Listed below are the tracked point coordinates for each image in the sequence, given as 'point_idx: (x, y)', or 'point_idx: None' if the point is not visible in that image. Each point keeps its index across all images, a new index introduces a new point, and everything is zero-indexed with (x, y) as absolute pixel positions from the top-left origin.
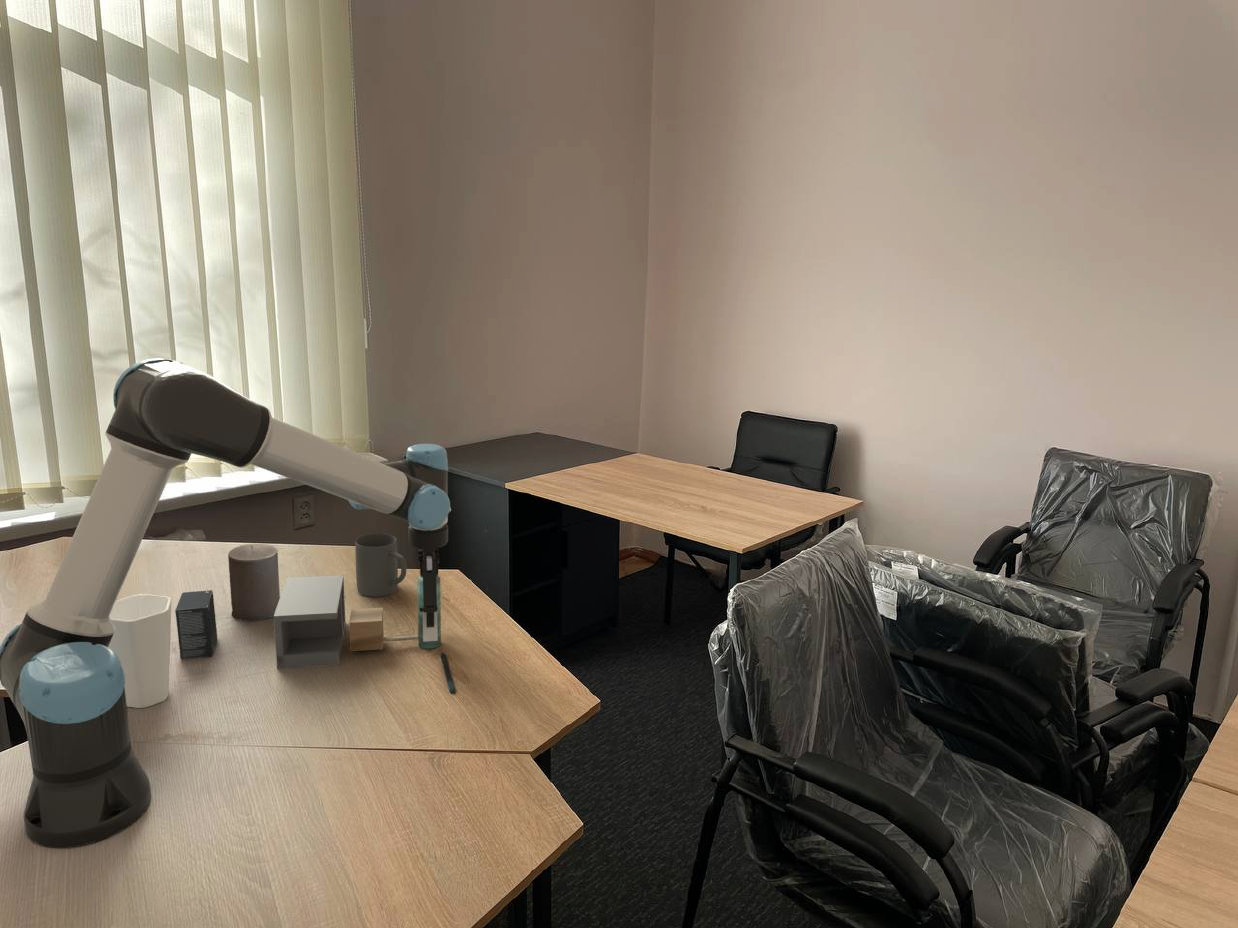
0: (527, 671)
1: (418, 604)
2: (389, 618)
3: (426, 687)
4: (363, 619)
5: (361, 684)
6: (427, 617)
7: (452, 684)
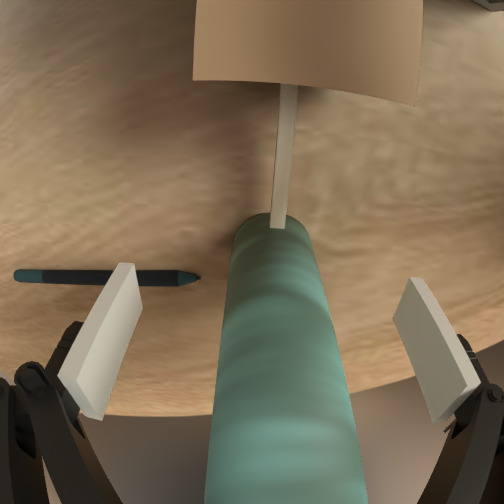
0: (117, 391)
1: (264, 344)
2: (489, 145)
3: (24, 223)
4: None
5: (34, 46)
6: (50, 362)
7: (30, 281)
